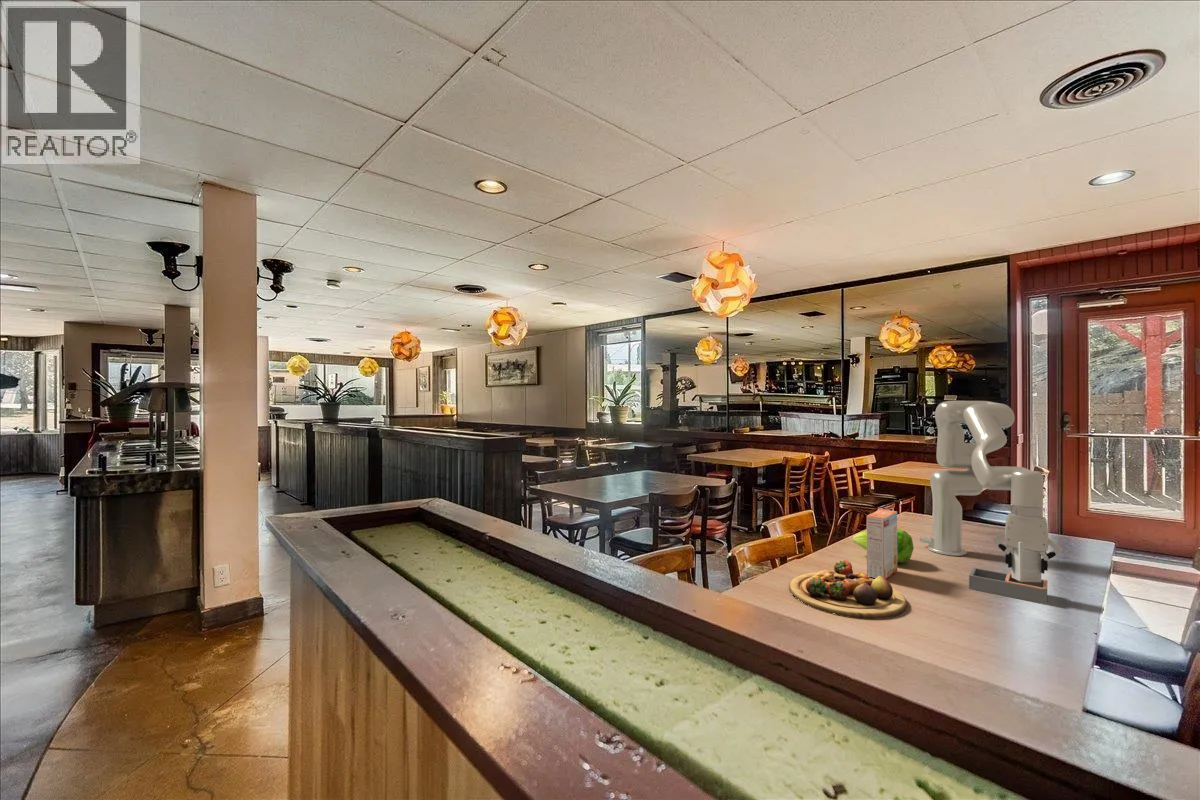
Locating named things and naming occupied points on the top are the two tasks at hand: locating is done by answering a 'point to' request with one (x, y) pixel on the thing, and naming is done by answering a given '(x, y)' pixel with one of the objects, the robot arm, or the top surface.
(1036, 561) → the skincare box
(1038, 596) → the box
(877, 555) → the cracker box
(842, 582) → the wooden plate with food
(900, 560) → the lettuce
